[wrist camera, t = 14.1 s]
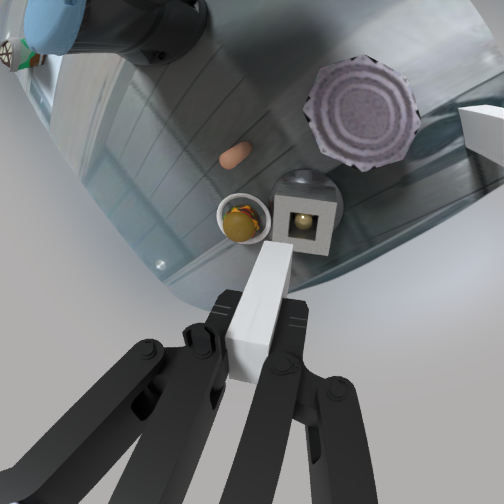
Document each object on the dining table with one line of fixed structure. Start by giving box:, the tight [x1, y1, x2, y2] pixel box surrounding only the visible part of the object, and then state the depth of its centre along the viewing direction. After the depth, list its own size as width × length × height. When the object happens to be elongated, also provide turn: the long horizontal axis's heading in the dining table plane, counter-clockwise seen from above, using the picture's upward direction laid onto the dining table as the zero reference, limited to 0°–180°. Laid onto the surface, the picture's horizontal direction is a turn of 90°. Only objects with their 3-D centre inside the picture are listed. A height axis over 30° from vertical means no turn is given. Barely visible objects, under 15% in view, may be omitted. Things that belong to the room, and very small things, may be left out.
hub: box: [269, 169, 344, 230], centre depth 38 cm, size 11×11×6 cm
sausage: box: [219, 141, 252, 169], centre depth 35 cm, size 2×2×8 cm
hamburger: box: [217, 193, 271, 244], centre depth 42 cm, size 12×12×6 cm
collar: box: [272, 181, 337, 256], centre depth 37 cm, size 8×8×6 cm
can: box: [303, 55, 422, 172], centre depth 26 cm, size 11×11×12 cm
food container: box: [0, 36, 46, 72], centre depth 28 cm, size 12×6×10 cm, turn 51°
